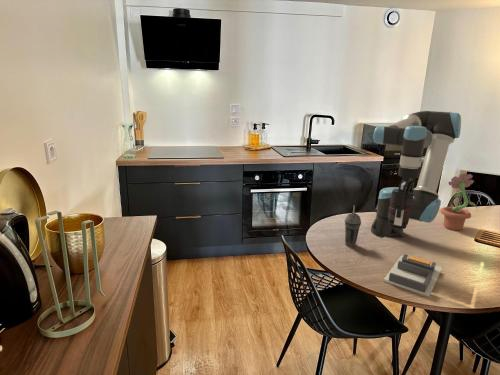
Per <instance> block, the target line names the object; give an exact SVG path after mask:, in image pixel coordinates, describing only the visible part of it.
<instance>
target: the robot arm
mask: <svg viewBox="0 0 500 375" xmlns="http://www.w3.org/2000/svg"><path fill="white" fill-rule="evenodd" d="M461 126H462V115H461V114H460V113H458V112H452V111H449V112H448V111H435V110H434V111H433V110H421V111H417V112H413V113H412V112H411V113H410V114H408V115H405V116H404V117H403V118H402V119H401V120H399V121H397V122H395V123H393V124H390V125H388V126H386V125H385V126H384V125H378V126H376V127H375V128H374V131H373V133H372V134H373V135H372V138H373V139H372V140H373V142H374V143H375V144H378V145H381V146H382V145H385V146H395V147H401V151H400V152H401V153H400V159H399V167H398V172H397V174H398V175H397V176H399V177H401V178H402V179H401V181H400V182H399V184H398V187H396V186H394V187H393V186H392V187H384V188H382V189H381V190H380V191H379V195H378V198H377V199H378V200H377V208H376V209H377V210H376V216H375V218H374V220H373V222H372V223H371V227H370V232H371V233H372V234H373V235H375V236H377V237H380V238H384V237H387V238H402V237H403V235H404V229H395V228H392V227H390V226H389V222H388V214H389V206H390V201H391V194H392V191H393V189H398V194H397V199H396V204H395V207H394V209H396V214H395V220H394V224H395V225H399V226H402V220H403V213H404V210H403V209H404V205H405V201H406V196H407V194H408V193H409V192H411V191H412V192H413V202H412V206H411V211H410V218H409V220H415V221H419V222H423V223H427V224H428V223H429V224H430V223H432V222H433V221H434V220H435V219H436V218H437V215H438V213H439V211H440V208H441V204H442V200H441V199H440V197H439V194H438V191H437V190H438V187H439V184H440V180H441V175H442V172H443V170H444V169H443V168H444V165H445V161H446V158H447V154H448V152H449V151H448V150H449V147H450V145H451V144H453V143H454V142H455V139H459V138H460V136H461V128H462V127H461ZM426 148H427V149H426ZM424 149H426V153H425V156H424V159H423V155H424ZM416 179H418V180H417V185H416V187H415V183H416Z"/></svg>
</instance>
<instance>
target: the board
mask: <svg viewBox="0 0 500 375" xmlns="http://www.w3.org/2000/svg"><path fill="white" fill-rule="evenodd" d="M408 257H409V255H408V254H404V255H400V257H398V259H397V261H396V262H395V263H394V265H393V266H392V267H391V269H390V270H389V272H387V274H386V276H385V277H384V278H383V282H384V283H387V284H390V285H394V286H396V287H399V288H402V289H405V290H408V291H411V292H413V293H417V294H418V295H419V294H420V295H422V296H424V297H428V298H430V297H431V295H432V293H433V289H434V286H436V282H437V280H438V278H439V276H440V274H441V271H442V269H443V267H442V266H439V265H436V264H437V263H436V262H435V261H432V263H431V264H430V266H429V265H425V264H422V263H418V262H415V261H412V260H408Z"/></svg>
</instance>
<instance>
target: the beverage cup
mask: <svg viewBox="0 0 500 375" xmlns="http://www.w3.org/2000/svg"><path fill="white" fill-rule="evenodd" d="M355 207H356V204H354V205H353V209H352V210H353V211H352V212H351V213H348V214H347V215H346V217H345V219H344V227H345V230H344V231H345V236H344V238H345V239H344V241H345V243H344V244H345V246H346V247H349V248H354V247H356V245H357V240H358V235H359V230H360V227H361V224H362V221H361V219H362V218H361V217H360V215H359V214H357V213H355V209H356V208H355Z"/></svg>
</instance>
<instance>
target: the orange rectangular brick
mask: <svg viewBox="0 0 500 375" xmlns="http://www.w3.org/2000/svg"><path fill="white" fill-rule="evenodd" d="M408 260H412V261H415V262H418V263H422V264H425V265H429V266H430V264H432V263H431V262H432V261H431V260H427V259H424V258H420V257H417V256H413V255H408Z"/></svg>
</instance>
